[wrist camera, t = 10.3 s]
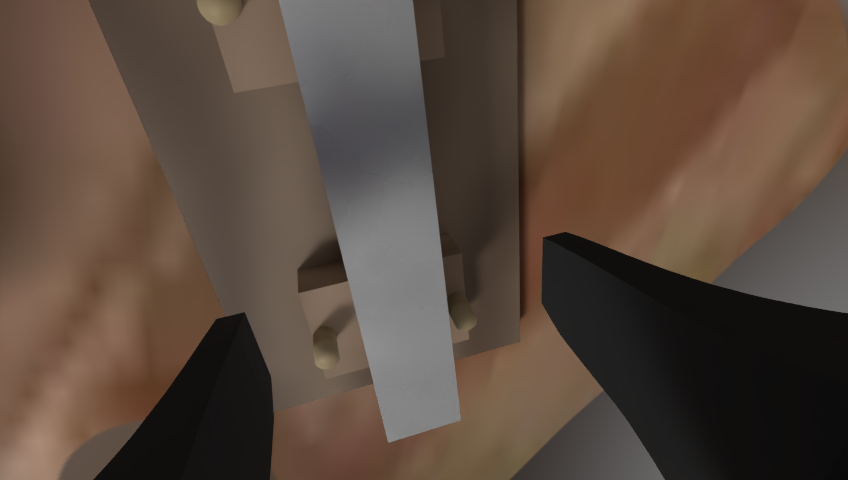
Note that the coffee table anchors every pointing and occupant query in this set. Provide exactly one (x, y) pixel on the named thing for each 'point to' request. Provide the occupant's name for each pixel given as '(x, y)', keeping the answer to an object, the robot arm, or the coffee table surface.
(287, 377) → the board
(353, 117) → the steel bar
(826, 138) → the coffee table surface
